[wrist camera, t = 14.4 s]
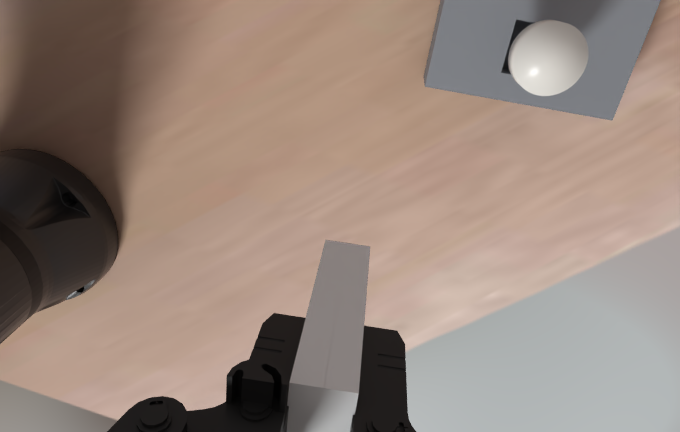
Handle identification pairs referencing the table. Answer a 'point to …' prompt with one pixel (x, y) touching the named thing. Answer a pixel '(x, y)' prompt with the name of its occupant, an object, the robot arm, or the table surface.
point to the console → (504, 26)
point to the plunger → (548, 57)
